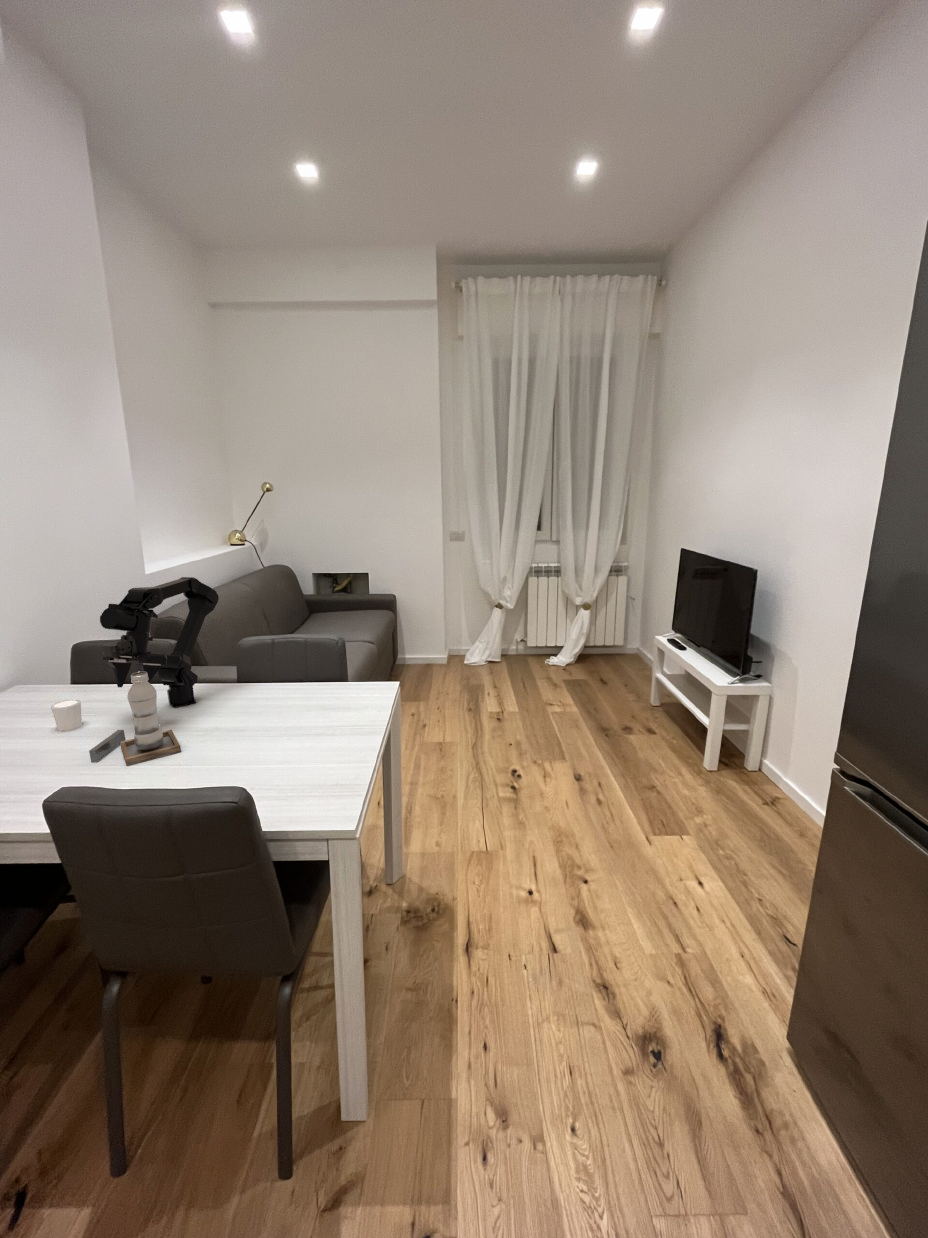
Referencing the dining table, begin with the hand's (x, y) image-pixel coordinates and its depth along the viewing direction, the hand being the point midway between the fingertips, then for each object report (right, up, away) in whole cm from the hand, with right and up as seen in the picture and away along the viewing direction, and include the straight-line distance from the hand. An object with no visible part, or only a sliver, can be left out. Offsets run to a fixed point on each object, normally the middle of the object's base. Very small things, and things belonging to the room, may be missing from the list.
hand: (130, 688), depth 151 cm
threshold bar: (+1, -14, -11) cm, 18 cm away
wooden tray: (+12, -14, -11) cm, 22 cm away
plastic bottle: (+12, -14, -11) cm, 21 cm away
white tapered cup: (-19, -11, +3) cm, 22 cm away
